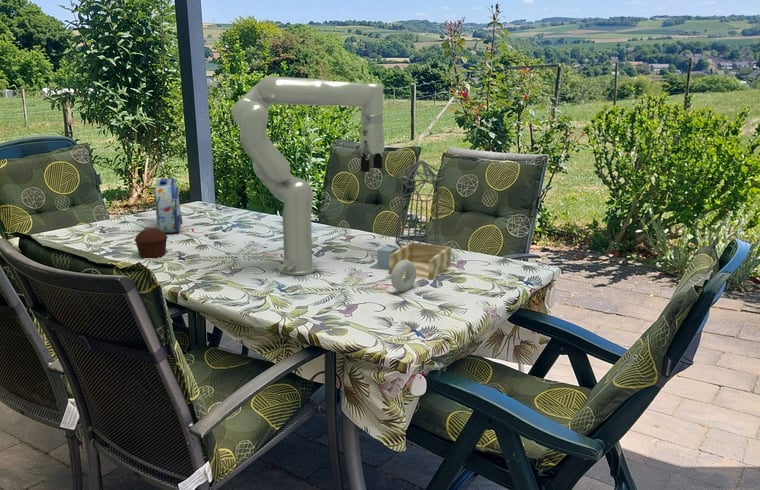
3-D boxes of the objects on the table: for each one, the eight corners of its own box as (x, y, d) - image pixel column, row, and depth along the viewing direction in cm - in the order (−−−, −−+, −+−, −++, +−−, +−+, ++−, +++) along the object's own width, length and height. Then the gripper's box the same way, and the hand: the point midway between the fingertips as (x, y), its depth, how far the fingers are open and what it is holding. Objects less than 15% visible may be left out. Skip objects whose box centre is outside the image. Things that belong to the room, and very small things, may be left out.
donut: (410, 286, 212) (410, 255, 209) (418, 288, 209) (419, 257, 207) (388, 293, 205) (388, 262, 202) (396, 296, 202) (396, 264, 200)
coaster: (393, 272, 226) (393, 270, 226) (369, 269, 229) (369, 267, 229) (404, 265, 234) (404, 263, 233) (380, 262, 237) (380, 260, 237)
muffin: (155, 261, 238) (152, 234, 235) (129, 258, 241) (126, 231, 239) (175, 252, 249) (173, 226, 246) (150, 250, 252) (148, 224, 250)
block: (390, 268, 228) (390, 251, 227) (377, 266, 230) (377, 249, 229) (396, 264, 232) (396, 248, 231) (383, 262, 235) (383, 246, 233)
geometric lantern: (408, 247, 258) (412, 156, 249) (445, 253, 250) (450, 160, 241) (387, 256, 245) (391, 160, 236) (425, 263, 237) (430, 165, 228)
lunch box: (183, 235, 274) (179, 182, 268) (156, 237, 271) (152, 184, 265) (181, 221, 299) (178, 172, 294) (157, 223, 296) (153, 173, 291)
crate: (431, 281, 216) (432, 260, 214) (389, 275, 222) (389, 255, 221) (450, 266, 233) (451, 247, 231) (410, 261, 239) (410, 242, 237)
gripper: (370, 122, 220) (369, 173, 224) (392, 119, 235) (391, 167, 239) (350, 121, 223) (350, 172, 227) (373, 118, 238) (373, 166, 242)
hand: (371, 169), depth 233 cm, fingers open, 9 cm apart
